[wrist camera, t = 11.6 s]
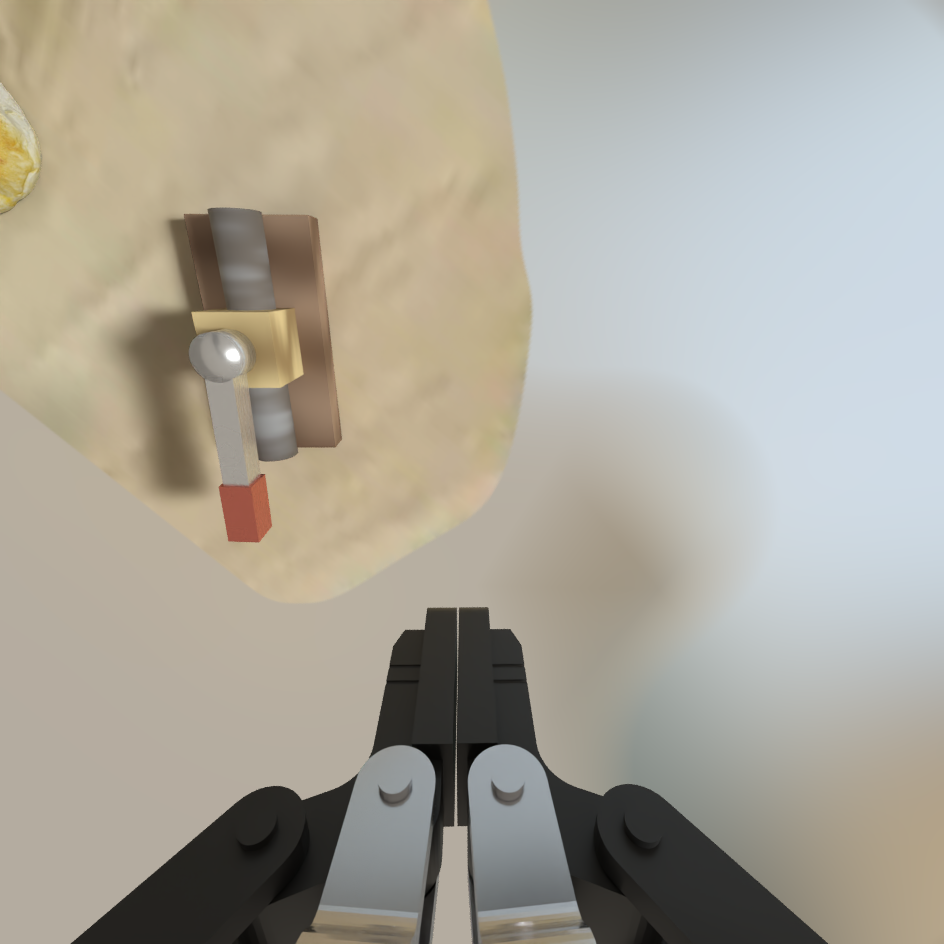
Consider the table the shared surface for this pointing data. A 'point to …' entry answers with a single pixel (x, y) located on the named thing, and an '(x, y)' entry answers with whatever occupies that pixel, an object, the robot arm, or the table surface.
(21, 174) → the bread roll
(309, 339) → the valve board
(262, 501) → the valve lever
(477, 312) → the table surface
